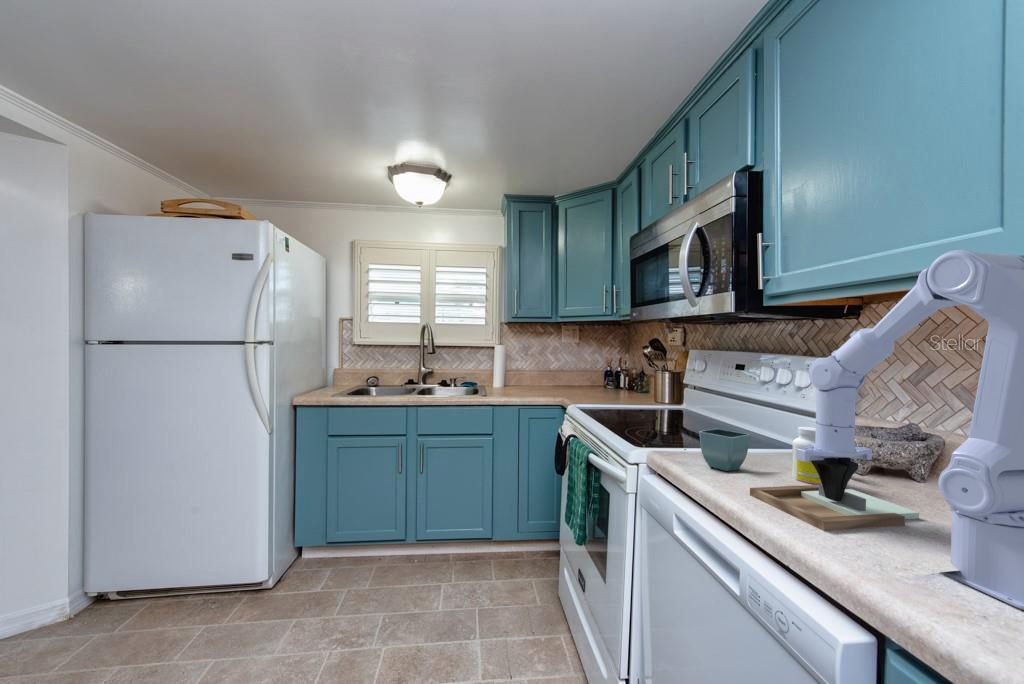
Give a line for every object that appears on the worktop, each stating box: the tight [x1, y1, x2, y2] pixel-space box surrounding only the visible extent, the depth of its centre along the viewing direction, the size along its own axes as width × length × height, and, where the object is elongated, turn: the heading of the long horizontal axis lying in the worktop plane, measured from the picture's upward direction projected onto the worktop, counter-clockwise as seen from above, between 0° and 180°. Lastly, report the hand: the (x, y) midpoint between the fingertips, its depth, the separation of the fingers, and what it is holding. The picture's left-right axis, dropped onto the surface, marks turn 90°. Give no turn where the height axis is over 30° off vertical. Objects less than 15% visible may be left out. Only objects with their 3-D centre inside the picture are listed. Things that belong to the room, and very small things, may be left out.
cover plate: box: [801, 484, 920, 520], centre depth 79 cm, size 12×12×3 cm
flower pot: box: [698, 428, 751, 472], centre depth 108 cm, size 9×9×9 cm
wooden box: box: [749, 484, 906, 532], centre depth 77 cm, size 16×16×3 cm
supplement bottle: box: [791, 426, 822, 485], centre depth 95 cm, size 7×7×13 cm
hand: (833, 499), depth 78 cm, fingers closed
